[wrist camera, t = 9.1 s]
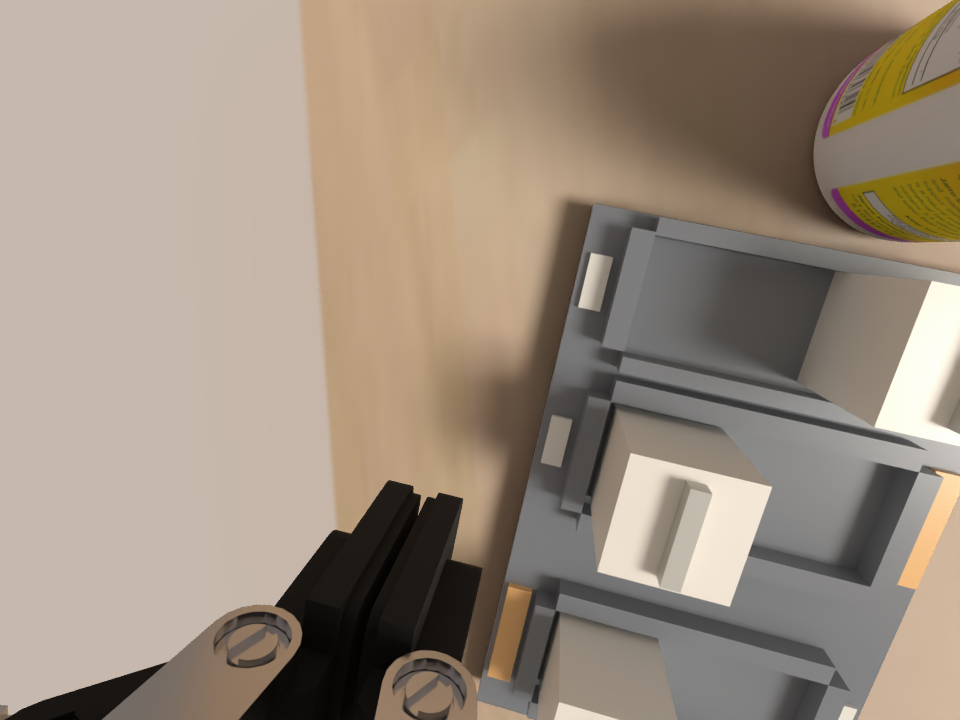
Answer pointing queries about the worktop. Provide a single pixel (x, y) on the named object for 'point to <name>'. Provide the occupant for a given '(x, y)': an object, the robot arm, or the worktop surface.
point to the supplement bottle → (898, 137)
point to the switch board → (764, 441)
